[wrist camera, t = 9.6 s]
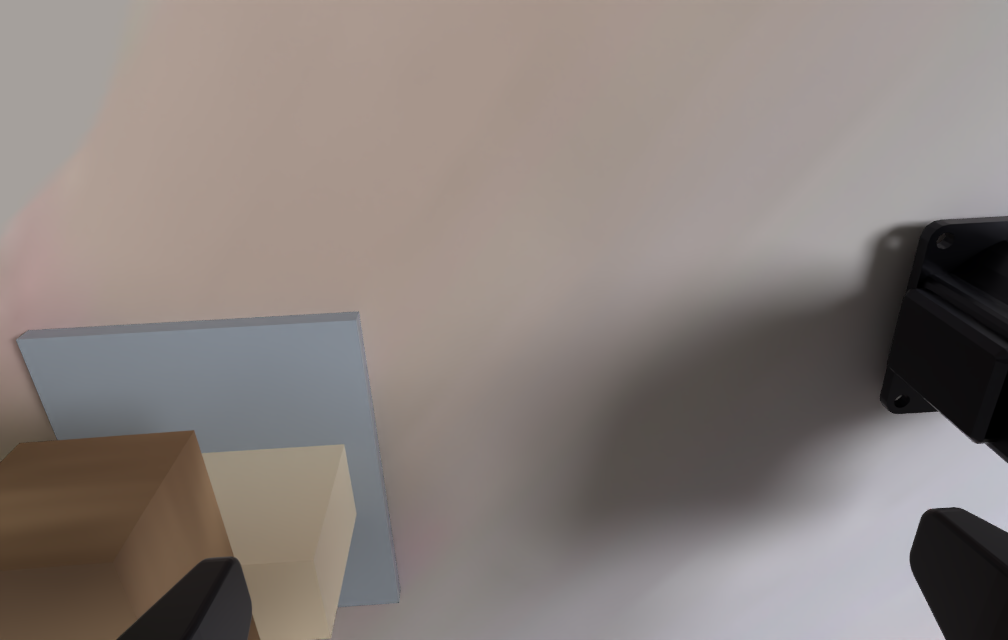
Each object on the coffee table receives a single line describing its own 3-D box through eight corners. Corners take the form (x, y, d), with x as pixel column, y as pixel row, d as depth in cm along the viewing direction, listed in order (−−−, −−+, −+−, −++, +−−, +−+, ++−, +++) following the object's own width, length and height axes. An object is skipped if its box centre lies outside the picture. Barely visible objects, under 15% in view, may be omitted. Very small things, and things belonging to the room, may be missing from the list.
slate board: (359, 309, 21) (324, 414, 15) (400, 585, 26) (385, 734, 21) (31, 327, 20) (-117, 442, 15) (141, 603, 26) (59, 759, 20)
